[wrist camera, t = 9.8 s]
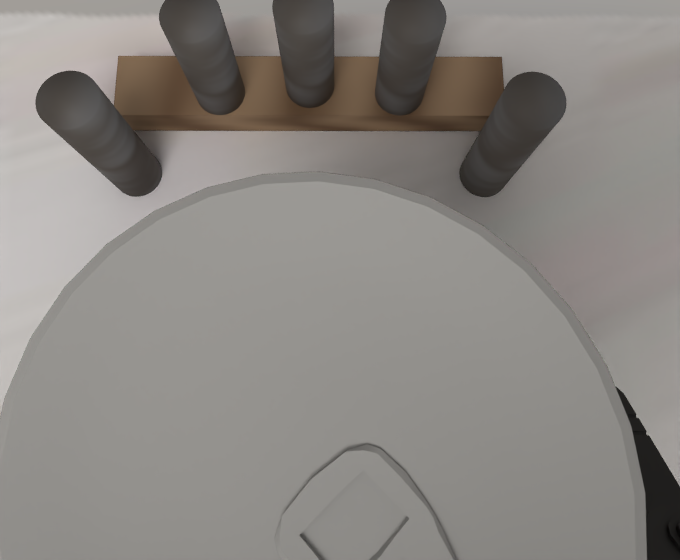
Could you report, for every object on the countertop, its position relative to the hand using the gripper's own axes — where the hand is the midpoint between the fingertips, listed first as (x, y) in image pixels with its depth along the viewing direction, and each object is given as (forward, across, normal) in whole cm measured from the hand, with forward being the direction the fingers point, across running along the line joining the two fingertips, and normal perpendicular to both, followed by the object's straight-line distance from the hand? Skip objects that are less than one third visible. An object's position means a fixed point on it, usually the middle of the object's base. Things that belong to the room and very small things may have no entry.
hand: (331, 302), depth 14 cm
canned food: (0, 0, -5) cm, 5 cm away
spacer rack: (+23, -2, -3) cm, 23 cm away
